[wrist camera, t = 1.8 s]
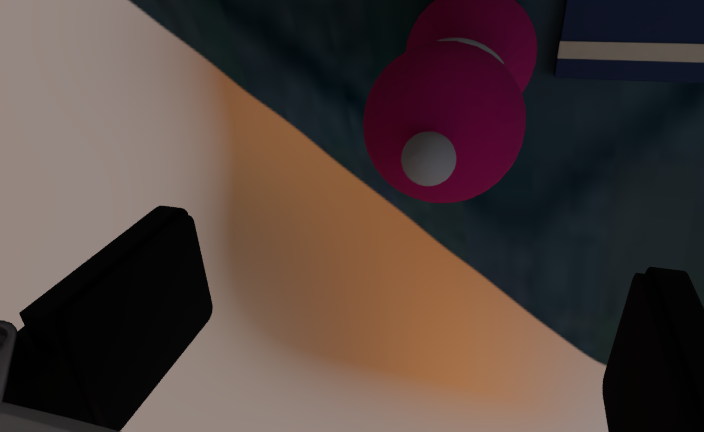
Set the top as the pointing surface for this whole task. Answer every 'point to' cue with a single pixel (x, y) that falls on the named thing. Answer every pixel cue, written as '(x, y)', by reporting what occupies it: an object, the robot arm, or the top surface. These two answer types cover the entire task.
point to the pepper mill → (453, 100)
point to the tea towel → (632, 40)
